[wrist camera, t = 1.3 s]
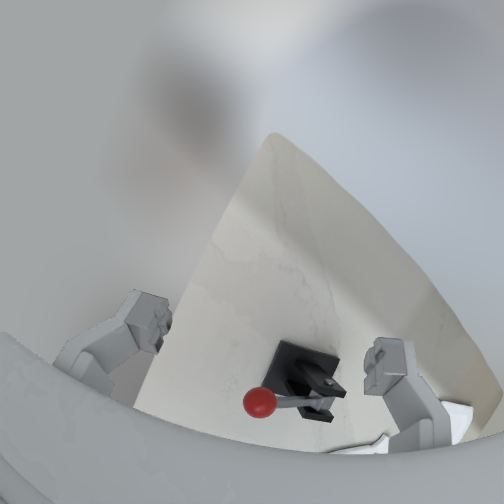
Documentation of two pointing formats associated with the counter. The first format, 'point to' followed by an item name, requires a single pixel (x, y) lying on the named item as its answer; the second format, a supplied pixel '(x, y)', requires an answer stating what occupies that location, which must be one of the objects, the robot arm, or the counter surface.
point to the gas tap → (303, 377)
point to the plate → (458, 419)
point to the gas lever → (281, 402)
